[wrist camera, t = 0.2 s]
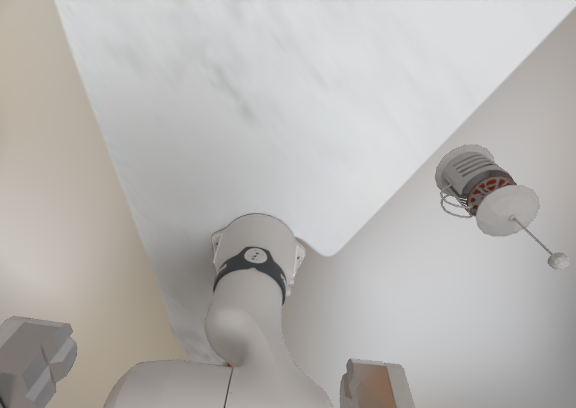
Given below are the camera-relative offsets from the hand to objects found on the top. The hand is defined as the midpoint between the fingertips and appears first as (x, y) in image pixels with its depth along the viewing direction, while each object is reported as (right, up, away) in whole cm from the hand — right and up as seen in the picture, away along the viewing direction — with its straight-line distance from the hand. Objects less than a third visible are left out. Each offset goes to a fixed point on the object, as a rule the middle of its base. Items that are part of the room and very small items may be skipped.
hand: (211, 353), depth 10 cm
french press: (+32, +10, +48) cm, 58 cm away
